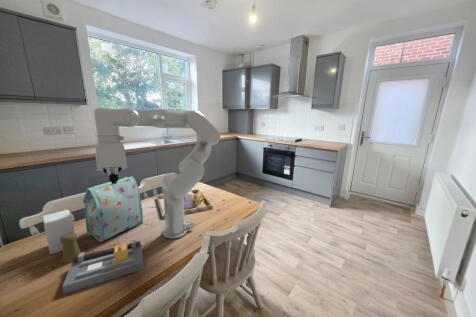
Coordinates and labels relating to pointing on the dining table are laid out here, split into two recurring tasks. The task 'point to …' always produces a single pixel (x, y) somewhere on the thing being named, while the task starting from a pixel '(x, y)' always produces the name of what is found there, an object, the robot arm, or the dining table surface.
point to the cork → (69, 247)
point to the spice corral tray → (188, 209)
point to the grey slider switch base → (102, 267)
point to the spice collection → (193, 199)
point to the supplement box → (57, 229)
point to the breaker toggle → (121, 252)
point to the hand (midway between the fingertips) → (114, 183)
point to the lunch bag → (112, 208)
